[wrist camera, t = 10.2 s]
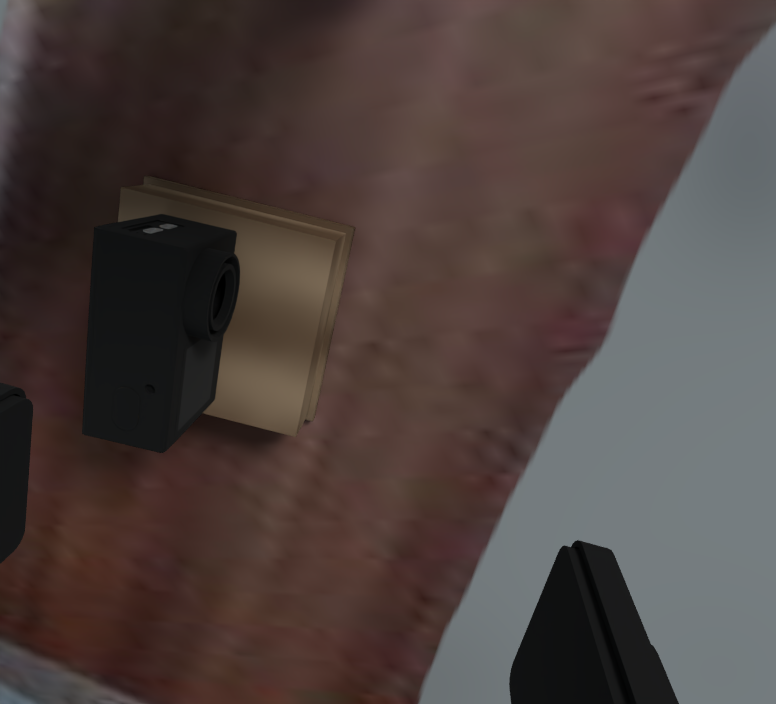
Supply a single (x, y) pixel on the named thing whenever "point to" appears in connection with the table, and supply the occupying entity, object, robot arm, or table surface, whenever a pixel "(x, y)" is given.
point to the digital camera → (156, 327)
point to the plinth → (265, 300)
